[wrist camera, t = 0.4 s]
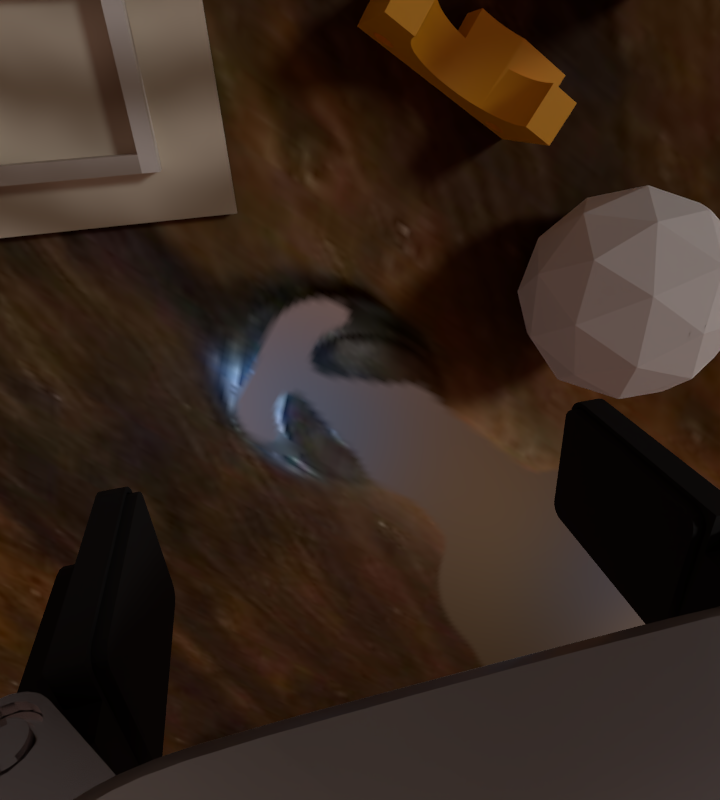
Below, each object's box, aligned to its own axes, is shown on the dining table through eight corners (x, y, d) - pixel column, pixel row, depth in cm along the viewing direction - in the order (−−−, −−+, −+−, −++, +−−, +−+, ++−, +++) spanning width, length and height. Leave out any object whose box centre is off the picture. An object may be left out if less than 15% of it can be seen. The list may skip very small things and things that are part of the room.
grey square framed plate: (-215, -107, 26) (-256, -127, 23) (183, -111, 28) (180, -129, 26) (-63, 241, 33) (-83, 251, 31) (236, 210, 36) (237, 217, 34)
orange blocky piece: (539, 77, 37) (596, 73, 31) (501, 138, 38) (549, 145, 33) (394, -50, 32) (432, -81, 26) (356, 26, 33) (384, 11, 28)
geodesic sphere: (621, 118, 39) (805, 126, 27) (683, 267, 46) (851, 328, 34) (454, 257, 41) (554, 323, 29) (538, 380, 48) (647, 475, 36)
